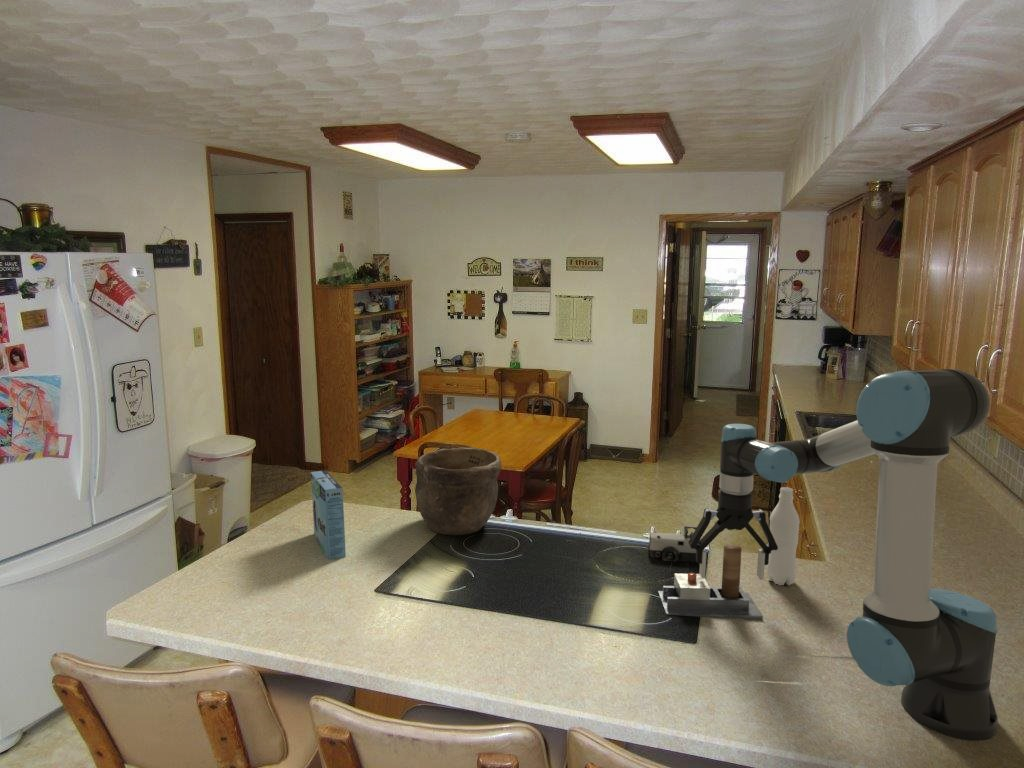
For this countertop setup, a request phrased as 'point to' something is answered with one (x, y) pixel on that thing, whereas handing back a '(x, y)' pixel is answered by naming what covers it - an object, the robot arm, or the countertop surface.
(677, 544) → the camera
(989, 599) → the countertop surface
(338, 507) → the blue carton box
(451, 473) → the clay pot
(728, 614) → the mount
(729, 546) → the dowel peg
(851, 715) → the countertop surface
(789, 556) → the water bottle
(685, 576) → the white rectangular block
